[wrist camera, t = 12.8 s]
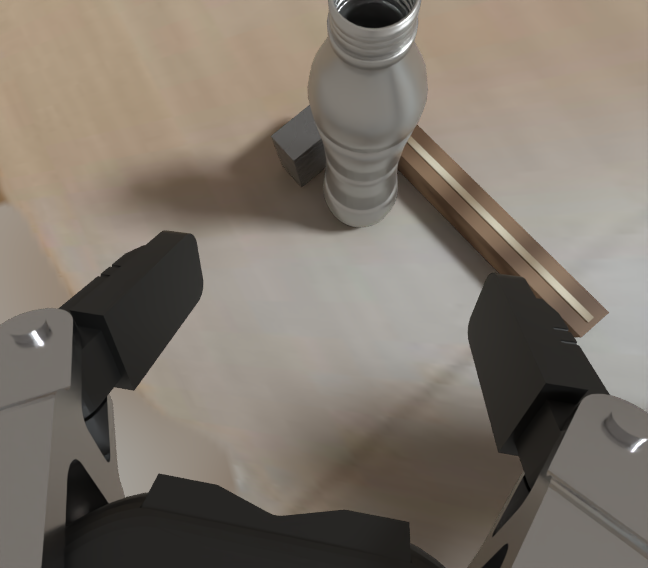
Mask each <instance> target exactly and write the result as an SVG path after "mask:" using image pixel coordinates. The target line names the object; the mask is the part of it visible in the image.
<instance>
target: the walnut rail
mask: <svg viewBox="0 0 648 568" xmlns="http://www.w3.org/2000/svg"><path fill="white" fill-rule="evenodd" d="M397 169H398V170H399V171H400V172H401V173H402V174H403V175H404V176H405V177H406V178H407V179H408V180H409V181H410V183H411V184H412V185H413V186H414V187H415V188H416V189H417V190H418V191H419V192H420V193H421V194H422V195H423V196H424V197H425V198H426V199H427V200H428V201H429V202H430V203H431V204H432V205H433V206H434V207H435V208H436V209H437V210H438V211H439V212H440V213H441V214H442V215H443V216H444V217H445V218H446V219H447V220H448V221H449V222H450V223H451V224H452V225H453V226H454V228H455V229H456V230H457V231H458V232H459V233H460V234H461V235H462V236H463V237H464V238H465V239H466V240H467V241H468V242H469V243H470V244H471V245H472V246H473V247H474V248H475V249H476V250H477V251H478V252H479V253H480V254H481V255H482V256H483V257H484V258H485V259H486V260H487V261H488V262H489V263H490V264H491V265H492V266H493V267H494V268H495V269H496V270H497V271H498V273H499V274H505V275H512V276H520V277H524V278H525V279H526V281H527V283H528V284H529V286H530V288H531V290H532V291H533V293H534V295H535V297H536V298H539V299H543V300H544V301H545V302H546V303H548V304H549V305H550V306H551V307H552V308H553V309H555V310H556V311H557V312H558V313H559V314H560V316H561V317H562V319H563V320H564V322H565V324H566V325H567V327H568V328H569V330H568V332H571V333H572V335H573V337H582V336H583V335H585V334H586V333H587V332H588V331H589V330H590V329H591V328H592V327H593V326H595V325H596V324H597V323H598V322H599V321H600V320H601V319H602V318H603V317H605V316H606V315H607V314H608V313H609V312H608V311H607V310H606V309H605V308H604V307H603V306H602V305H601V304H600V303H599V302H598V301H597V300H596V299H595V298H594V297H593V296H592V295H591V294H590V293H589V292H588V291H587V290H586V289H585V288H584V287H582V286H581V285H580V284H579V283H578V282H577V281H576V280H575V279H574V278H573V277H572V276H571V275H570V274H569V273H568V272H567V271H566V270H565V269H564V268H563V267H562V266H561V265H560V264H559V263H558V262H557V261H556V260H555V259H554V258H553V257H552V256H551V255H550V254H549V253H548V252H547V251H546V250H545V249H544V248H543V247H542V246H541V245H540V244H539V243H538V242H536V241H535V240H534V239H533V238H532V237H531V236H530V235H529V234H528V233H527V232H526V231H525V230H524V229H523V228H522V227H521V226H520V225H519V224H518V223H517V222H516V221H515V220H514V219H513V218H512V217H511V216H510V215H509V214H508V213H507V212H506V211H505V210H504V209H503V208H502V207H501V206H500V205H499V204H498V203H497V202H496V201H495V200H494V199H493V198H492V197H490V196H489V195H488V194H487V193H486V192H485V191H484V190H483V189H482V188H481V187H480V186H479V185H478V184H477V183H476V182H475V181H474V180H473V179H472V178H471V177H470V176H469V175H468V174H467V173H466V172H465V171H464V170H463V169H462V168H461V167H460V166H459V165H458V164H457V163H456V162H455V161H454V160H453V159H452V158H451V157H450V156H449V155H448V154H447V153H445V152H444V151H443V150H442V149H441V148H440V147H439V146H438V145H437V144H436V143H435V142H434V141H433V140H432V139H431V138H430V137H429V136H428V135H427V134H426V133H425V132H424V131H423V130H422V129H421V128H420V127H419V126H418V125H416V127H415V128H414V130H413V132H412V134H411V135H410V137H409V139H408V141H407V143H406V144H405V146H404V149H403V151H402V154H401V157H400V159H399V162H398V168H397Z"/></svg>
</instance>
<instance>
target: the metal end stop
mask: <svg viewBox="0 0 648 568" xmlns="http://www.w3.org/2000/svg"><path fill="white" fill-rule="evenodd" d="M271 137H272V140H273V142H274V145H275V148H276V150H277V153H278V156H279V158H280V161H281V163H282V166H283V167H284V168H285V169H286V170H287V171H288V172H289V174H290V175H291V176H292V177H293V178H294V179H295V180H296V181H297V182H298V184H299V185H300V186H301V187H302V186H304V185H305V184H306V183H307V182H308V181H310V180H311V179H312V178H313V177H315V176H316V175H317V174H318V173H319V172H321V171H322V170H323V169H324V168H325V167H326V154H325V150H324V145H323V141H322V139H321V136H320V134H319V131H318V128H317V126H316V123H315V120H314V118H313V115H312V111H311V107H310V105H309V106H308V107H306V108H305V109H304V110H303V111H301V112H300V113H299V114H298V115H296V116H295V117H294V118H293V119H292V120H290V121H289V122H288V123H287V124H285V125H284V126H283V127H282V128H280V129H279V130H278V131H277V132H275V133H274V134H273V135H272V136H271Z"/></svg>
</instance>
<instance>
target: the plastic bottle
mask: <svg viewBox="0 0 648 568" xmlns="http://www.w3.org/2000/svg"><path fill="white" fill-rule="evenodd" d="M420 5H421V0H328V6H329V13H328V19H327V30H328V37H327V39H326V40H325V41H324V43H323V44H322V45H321V47H320V48H319V50H318V52H317V53H316V55H315V57H314V60H313V63H312V66H311V70H310V75H309V81H308V100H309V103H310V107H311V111H312V115H313V118H314V120H315V123H316V126H317V128H318V131H319V134H320V136H321V139H322V141H323V145H324V150H325V154H326V171H325V176H324V183H323V193H324V197H325V201H326V203H327V205H328V207H329V209H330V210H331V212H332V213H333V214H334V216H335V217H336V218H337V219H339V220H340V221H341V222H343V223H345V224H347V225H349V226H352V227H368V226H372V225H374V224H376V223H378V222H379V221H381V220H382V219H383V218H384V217H385V216H386V215H387V214H388V213H389V211H390V210H391V209H392V207H393V205H394V204H395V201H396V198H397V191H398V178H397V168H398V162H399V159H400V157H401V154H402V151H403V149H404V146H405V144H406V143H407V141H408V139H409V137H410V135H411V134H412V132H413V130H414V128H415V127H416V125H417V123H418V121H419V119H420V117H421V114H422V112H423V110H424V107H425V104H426V101H427V93H428V84H427V73H426V65H425V62H424V59H423V56H422V54H421V52H420V50H419V49H418V47H417V45H416V43H415V42H414V41H415V37H416V33H417V28H418V13H419V9H420Z"/></svg>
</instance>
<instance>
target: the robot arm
mask: <svg viewBox="0 0 648 568" xmlns="http://www.w3.org/2000/svg"><path fill="white" fill-rule="evenodd" d="M202 291H203V276H202V270H201V265H200V259H199V253H198V247H197V242H196V239H195V237H194V236H193V235H192V234H189V233H181V232H174V231H162V232H160V233H159V234H158V235H157V236H156V237H155V238H153V239H152V240H151V241H150V242H149V243H148V244H146V245H143V246H141V247H139V248H137V249H135V250H132V251H130V252H128V253H126V254H124V255H123V256H122V257H121V258H120V259H118V260H117V261H116V262H115V263H113V264H112V267H109V268H107V269H106V270H105V271H104V272H102V273H101V276H100V277H99V276H98V277H96V278H95V279H94V280H93V281H91V282H90V283H89V284H88V285H87V286H85V287H84V288H83V289H82V290H81V291H79V292H78V293H77V294H76V295H74V296H73V297H72V298H71V299H70V300H68V301H67V302H66V303H65V304H63V305H62V306H61V307H60V308H59V309H56V308H45V309H38V310H33V311H29V312H26V313H23V314H20V315H18V316H15V317H13V318H11V319H9V320H7V321H5V322H4V323H2V324H1V325H0V568H445V567H444V566H443V565H442V564H441V563H440V562H438V561H437V560H436V559H435V558H433V557H432V556H431V555H429V554H428V553H426V552H425V551H423V550H422V549H420V548H419V547H417V546H415V545H413V544H411V543H410V528H409V522H405V521H400V520H395V519H390V518H385V517H379V516H374V515H369V514H364V513H359V512H354V511H349V510H337V511H327V512H317V513H307V514H297V515H287V516H276V515H272V514H270V513H268V512H266V511H264V510H262V509H261V508H259V507H257V506H255V505H253V504H251V503H250V502H248V501H246V500H244V499H242V498H240V497H239V496H237V495H235V494H233V493H231V492H229V491H228V490H226V489H224V488H222V487H220V486H218V485H215V484H209V483H204V482H199V481H194V480H189V479H184V478H179V477H174V476H169V475H163V474H158V476H157V478H156V480H155V481H154V483H153V485H152V487H151V489H150V491H149V492H148V493H142V494H137V495H133V496H129V497H126V498H125V495H124V492H123V488H122V486H121V482H120V478H119V473H118V465H117V452H116V439H115V424H114V412H113V402H112V399H111V397H110V395H109V393H110V391H111V390H112V389H113V388H114V387H117V388H122V389H128V390H135V389H136V387H137V386H138V385H139V383H140V382H141V380H142V379H143V378H144V376H145V375H146V373H147V372H148V371H149V369H150V368H151V367H152V365H153V364H154V362H155V361H156V360H157V358H158V357H159V355H160V354H161V353H162V351H163V350H164V348H165V347H166V346H167V344H168V343H169V342H170V340H171V339H172V337H173V336H174V335H175V333H176V332H177V330H178V329H179V328H180V326H181V325H182V323H183V322H184V321H185V319H186V318H187V317H188V315H189V314H190V312H191V311H192V310H193V308H194V307H195V305H196V304H197V303H198V301H199V299H200V297H201V295H202ZM568 330H569V328H568V327H567V325H566V324H565V322H564V320H563V319H562V317H561V316H560V314H559V313H558V312H557V311H556V310H555V309H553V308H552V307H551V306H550V305H549V304H548V303H546V302H545V301H544V300H543V299H539V298H536V297H535V295H534V293H533V291H532V290H531V288H530V286H529V284H528V283H527V281H526V279H525V278H524V277H520V276H512V275H505V274H497V273H491V274H490V275H489V276H488V277H487V279H486V281H485V283H484V286H483V288H482V291H481V293H480V295H479V298H478V300H477V303H476V305H475V308H474V310H473V312H472V315H471V317H470V321H469V325H468V340H469V344H470V348H471V352H472V355H473V359H474V363H475V367H476V370H477V374H478V378H479V382H480V385H481V389H482V393H483V397H484V400H485V404H486V408H487V412H488V415H489V419H490V423H491V427H492V430H493V434H494V438H495V442H496V445H497V449H498V452H499V453H504V454H510V455H516V456H519V457H520V461H521V464H522V467H523V470H524V472H523V473H522V475H521V476H520V477H519V479H518V481H517V483H516V485H515V487H514V488H513V490H512V492H511V494H510V496H509V498H508V499H507V501H506V503H505V505H504V507H503V509H502V510H501V512H500V514H499V516H498V518H497V520H496V521H495V523H494V525H493V527H492V529H491V531H490V533H489V534H488V536H487V538H486V540H485V542H484V543H483V545H482V547H481V548H480V550H479V551H478V553H477V554H476V556H475V557H474V558H473V560H472V561H471V563H470V564H469V566H468V567H467V568H648V413H647V412H645V411H644V410H642V409H641V408H639V407H637V406H636V405H634V404H632V403H630V402H628V401H626V400H623V399H621V398H618V397H615V396H611V395H610V394H609V393H608V391H607V390H606V388H605V386H604V385H603V383H602V382H601V380H600V378H599V377H598V375H597V374H596V372H595V370H594V369H593V367H592V365H591V364H590V362H589V361H588V359H587V357H586V356H585V354H584V353H583V351H582V349H581V348H580V346H579V345H577V344H576V343H577V341H576V340H575V338H574V337H573V335H572V333H571V332H568Z"/></svg>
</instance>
